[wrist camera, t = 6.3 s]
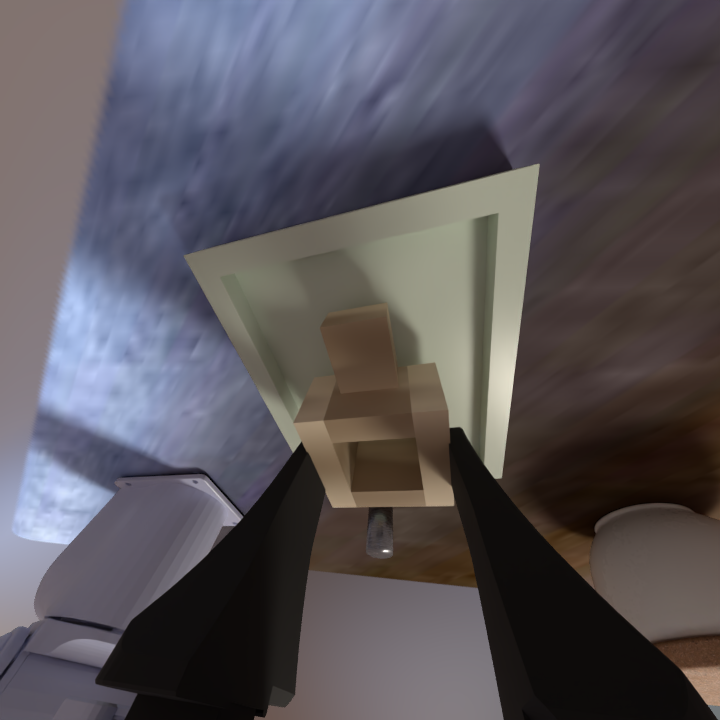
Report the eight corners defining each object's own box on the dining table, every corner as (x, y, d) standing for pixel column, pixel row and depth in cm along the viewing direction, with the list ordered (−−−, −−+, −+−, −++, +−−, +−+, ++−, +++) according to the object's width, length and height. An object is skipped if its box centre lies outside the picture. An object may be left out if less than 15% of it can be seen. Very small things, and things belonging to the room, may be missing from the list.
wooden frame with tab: (442, 449, 14) (453, 506, 11) (343, 455, 15) (332, 507, 12) (429, 294, 9) (443, 327, 7) (292, 319, 11) (260, 354, 8)
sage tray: (317, 461, 19) (310, 484, 17) (211, 247, 11) (183, 255, 9) (491, 452, 16) (501, 478, 15) (513, 169, 9) (539, 163, 7)
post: (372, 500, 21) (369, 558, 18) (367, 487, 20) (363, 546, 17) (394, 499, 21) (394, 558, 17) (390, 487, 20) (390, 546, 16)
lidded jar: (537, 545, 22) (617, 733, 15) (607, 474, 16) (804, 727, 9) (667, 561, 22) (824, 769, 14) (789, 493, 16) (1183, 788, 8)
